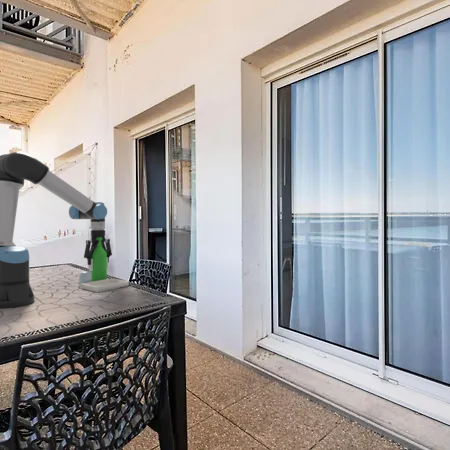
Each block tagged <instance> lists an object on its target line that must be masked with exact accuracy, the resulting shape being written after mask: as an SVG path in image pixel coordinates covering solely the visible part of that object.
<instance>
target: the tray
mask: <svg viewBox="0 0 450 450" xmlns="http://www.w3.org/2000/svg"><path fill="white" fill-rule="evenodd" d="M129 284H130V281H129V280H123V279H118V278H107V279H104V280H99V281H93V282H87V283H82V284H80V286H79V287H80V289H81V290H86V291H89V292H94V293H102V292H106V291H110V290H111V291H112V290H116V289H120V287H121V288H125V287H129Z"/></svg>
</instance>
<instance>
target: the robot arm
mask: <svg viewBox="0 0 450 450" xmlns="http://www.w3.org/2000/svg"><path fill="white" fill-rule="evenodd" d="M25 181H28V182H30V183H32V184H33V185H39V186H41V187H42V188H44V189H46V190H47V191H49V192H51V193H52V194H54V196H57V197H58V198H60V199H61V200H63V201H64V202H66V203H67V204H69V205H71V206H70V207H69V209H68V215H69V216H68V217H70V219H72V220H90V237H91V238H90V239H87V240H85V247H84V248H85V249H84V255H83V258H84V259H86V260H87V265H88V271H93V259H91V258H92V256H93V253H94V251H95V248H96V247H97V245H98V243H99V240H96V238H97V237H102V240H101V243H102V247H103V249H104V250H105V251H106V253H107V270H108V269H109V263H110V257H111V256H112V255H113V254H112V248H111V244H110V243H111V239H110V238H106V230H105V229H106V217H107V215H108V208H107V207H106V206H105V203H104V202H101V201H93V200H92V199H91V198H89V197H88V196H86V195H85V194H84V193H82V192H81V191H79V190H78V189H76V188H75V187H74V186H72V185H70V184H69V183H68V182H67V181H65V180H64V179H62V178H60V177H59V176H58V175H56V174H55V173H53V172H52V171H51V170H50V168H49V166H47V165H46V164H44V163H43V162H42V161H40V160H38V159H37V158H36V157H34V156H32V155H30V154H28V153H26V152H22V151H14V152H10V153H5V154H4V153H3V154H1V155H0V309H9V308H17V307H18V308H19V307H22V306H27V305H31V304H32V303H34V302H35V294H34V291H33V288H32V287H31V284H30V254H29V250H28V248H27V247H23V246H17V245H16V243H14V242H13V239H14V232H15V226H16V225H15V224H16V217H17V211H18V209H17V208H18V202H19V195H20V190H21V189H22V188H24V186H25Z"/></svg>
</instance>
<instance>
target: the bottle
mask: <svg viewBox="0 0 450 450" xmlns="http://www.w3.org/2000/svg"><path fill="white" fill-rule="evenodd" d="M96 240H99V243H98V245H97V247H96V248H95V251H94V253H93V256H92V258H91V259H93V271H90V272H92V282H93V281H99V280H104V279H108V274H107V273H108V269H107V253H106V251H105V250H104V249H103V247H102V243H101V240H102V237H97V238H96Z"/></svg>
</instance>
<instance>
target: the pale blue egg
mask: <svg viewBox="0 0 450 450" xmlns="http://www.w3.org/2000/svg"><path fill="white" fill-rule="evenodd" d="M78 277H79V279H78V282H79V285H78V286H79V287H80V284H82V283H87V282H92V272H90V271H89V270H88V271H80V272H79V273H78Z"/></svg>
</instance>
